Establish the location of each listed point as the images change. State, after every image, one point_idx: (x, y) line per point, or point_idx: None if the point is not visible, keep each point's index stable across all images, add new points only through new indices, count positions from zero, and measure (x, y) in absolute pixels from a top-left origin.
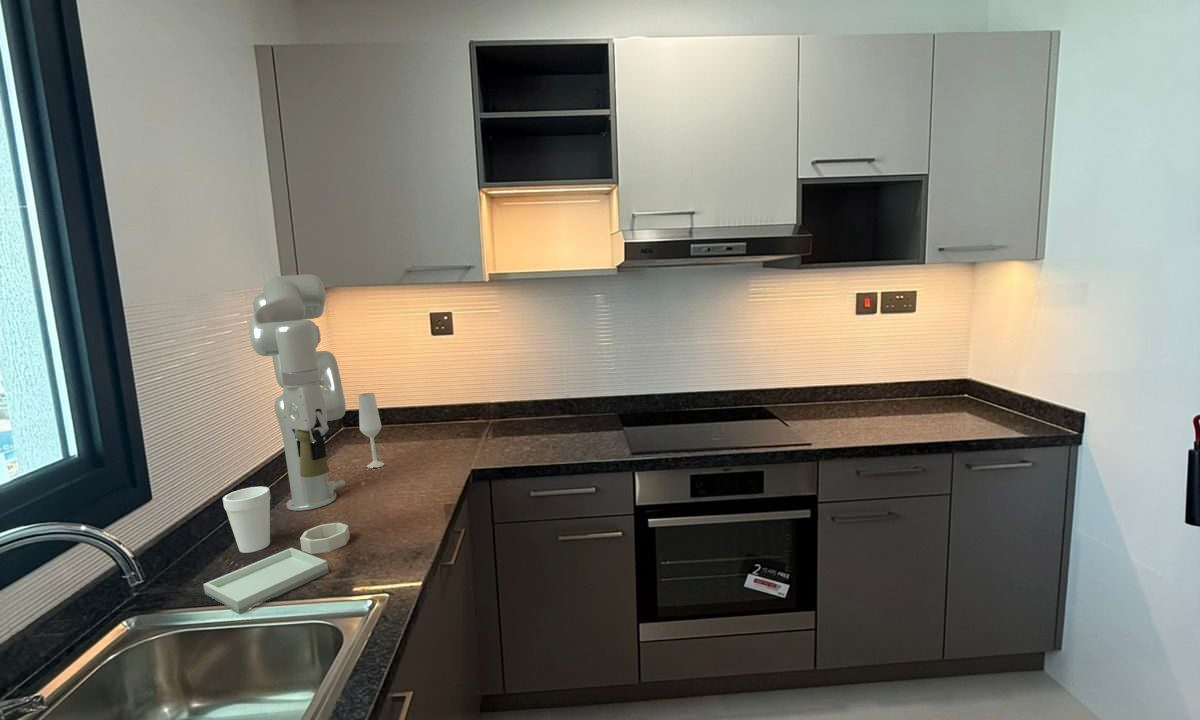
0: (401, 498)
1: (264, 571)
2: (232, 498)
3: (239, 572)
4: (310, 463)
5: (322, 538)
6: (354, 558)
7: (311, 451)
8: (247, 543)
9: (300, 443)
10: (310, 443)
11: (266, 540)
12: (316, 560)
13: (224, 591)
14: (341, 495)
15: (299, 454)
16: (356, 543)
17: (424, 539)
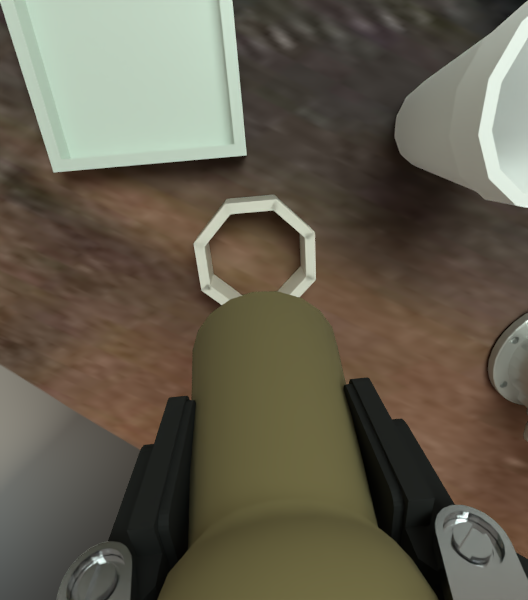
0: None
1: (193, 37)
2: None
3: None
4: (205, 370)
5: (212, 236)
6: (103, 250)
7: (156, 449)
8: (421, 85)
9: (319, 483)
10: (130, 529)
11: (403, 147)
12: (87, 157)
13: None
14: (505, 407)
15: (358, 391)
16: (189, 295)
17: (76, 385)
